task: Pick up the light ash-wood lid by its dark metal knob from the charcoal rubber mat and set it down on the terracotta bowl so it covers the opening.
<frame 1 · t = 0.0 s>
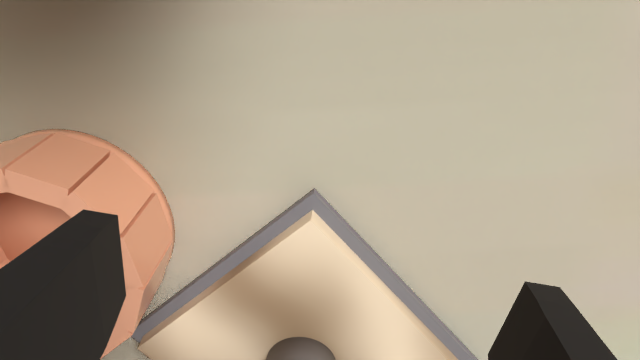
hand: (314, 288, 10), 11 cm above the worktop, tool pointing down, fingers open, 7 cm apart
lid: (303, 350, 24), resting on mat
mat: (303, 344, 24), on the worktop
bowl: (79, 219, 22), on the worktop
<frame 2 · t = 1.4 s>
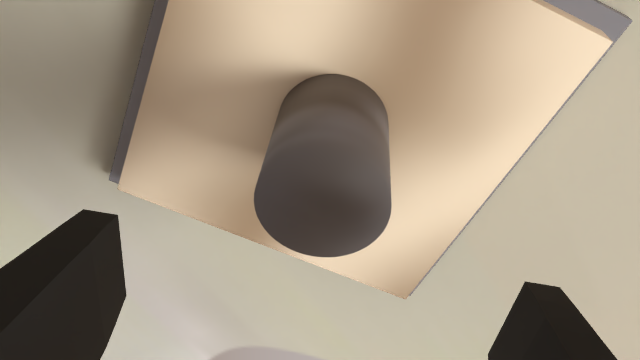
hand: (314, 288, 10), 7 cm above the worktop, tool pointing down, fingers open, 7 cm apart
lid: (334, 111, 15), resting on mat
mat: (335, 104, 16), on the worktop
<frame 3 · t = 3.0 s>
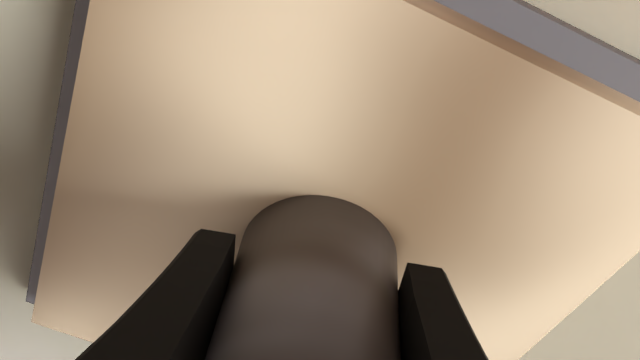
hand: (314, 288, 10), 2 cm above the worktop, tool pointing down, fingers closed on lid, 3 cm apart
lid: (321, 230, 11), resting on mat, touching gripper
mat: (323, 218, 11), on the worktop
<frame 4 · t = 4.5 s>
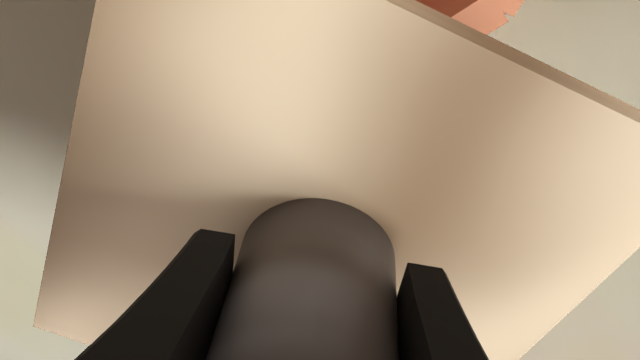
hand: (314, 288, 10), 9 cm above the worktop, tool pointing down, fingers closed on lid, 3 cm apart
lid: (321, 234, 11), point 7 cm above the worktop, touching gripper
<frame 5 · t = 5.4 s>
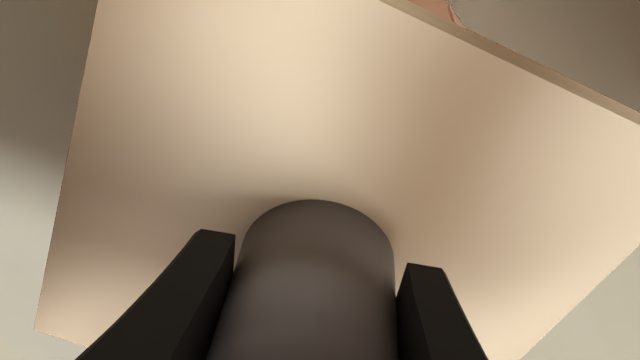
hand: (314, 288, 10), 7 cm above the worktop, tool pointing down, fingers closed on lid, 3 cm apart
lid: (320, 235, 11), point 5 cm above the worktop, touching gripper
bowl: (339, 103, 16), on the worktop
when the fingers open (7 cm above the worktop, at t = 5.9 s): lid drops 2 cm, resting on bowl.
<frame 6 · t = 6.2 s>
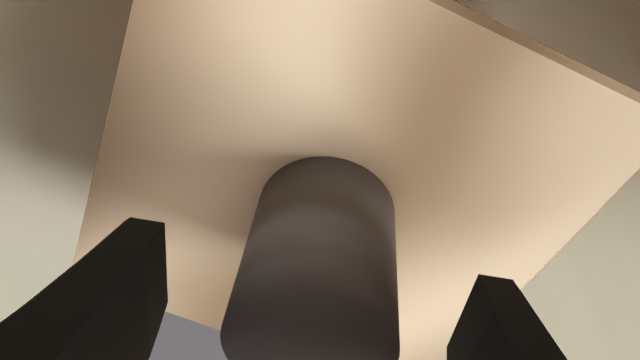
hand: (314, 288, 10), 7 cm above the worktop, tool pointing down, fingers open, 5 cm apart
lid: (328, 192, 13), point 4 cm above the worktop, touching bowl
mat: (296, 344, 22), on the worktop
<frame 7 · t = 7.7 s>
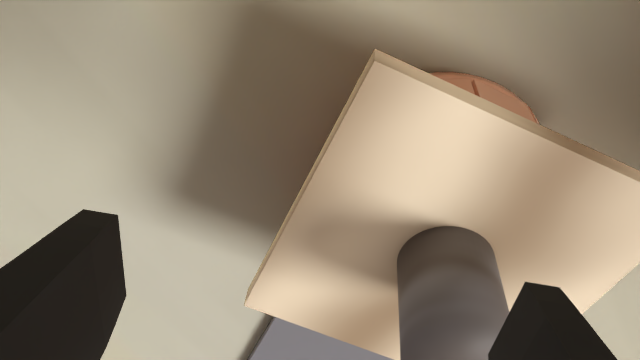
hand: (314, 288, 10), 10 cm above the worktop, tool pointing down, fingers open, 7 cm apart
lid: (442, 245, 18), point 4 cm above the worktop
mat: (378, 350, 27), on the worktop
bowl: (435, 168, 21), on the worktop
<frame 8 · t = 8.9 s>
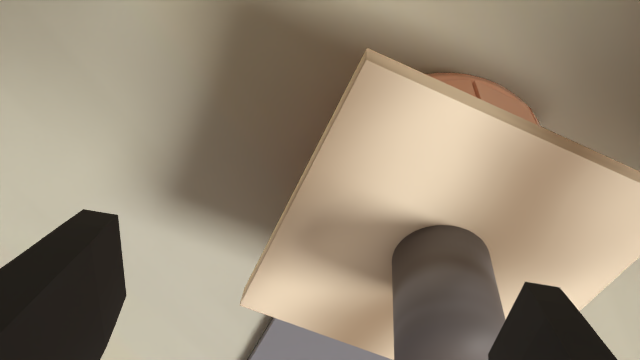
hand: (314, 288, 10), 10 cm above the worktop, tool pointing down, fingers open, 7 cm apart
lid: (437, 244, 18), point 4 cm above the worktop, touching bowl
mat: (378, 351, 27), on the worktop
bowl: (435, 169, 21), on the worktop, touching lid
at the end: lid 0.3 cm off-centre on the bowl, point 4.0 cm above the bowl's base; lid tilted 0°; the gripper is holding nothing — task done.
